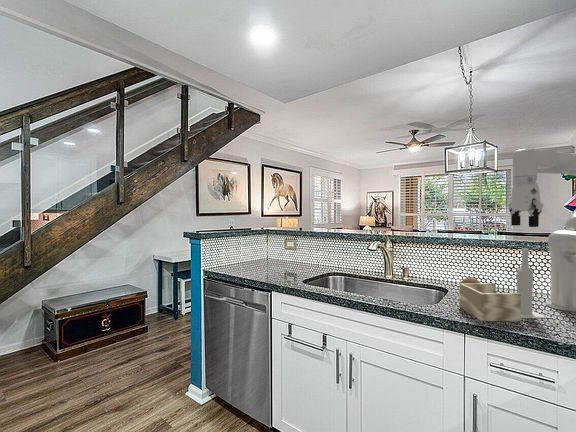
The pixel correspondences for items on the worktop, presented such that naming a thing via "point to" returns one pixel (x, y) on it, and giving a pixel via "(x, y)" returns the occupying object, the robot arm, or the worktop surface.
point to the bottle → (525, 284)
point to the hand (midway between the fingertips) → (524, 226)
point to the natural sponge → (470, 280)
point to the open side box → (489, 302)
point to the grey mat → (533, 315)
